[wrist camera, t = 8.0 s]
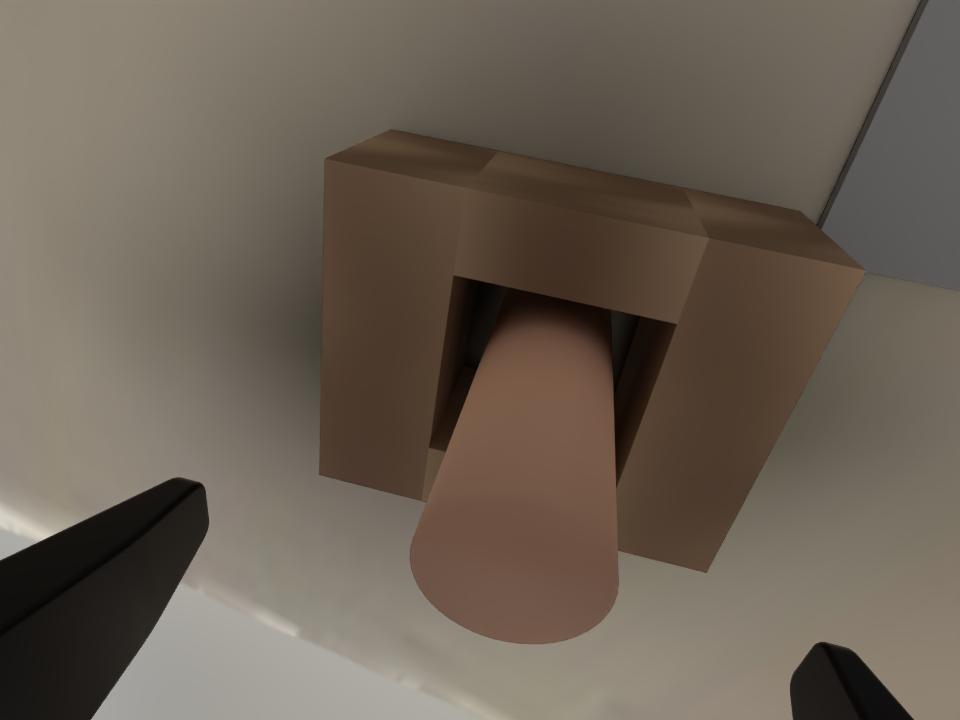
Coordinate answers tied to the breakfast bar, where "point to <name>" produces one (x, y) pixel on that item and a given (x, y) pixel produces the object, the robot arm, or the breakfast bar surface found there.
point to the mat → (908, 162)
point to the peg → (528, 481)
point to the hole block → (580, 278)
